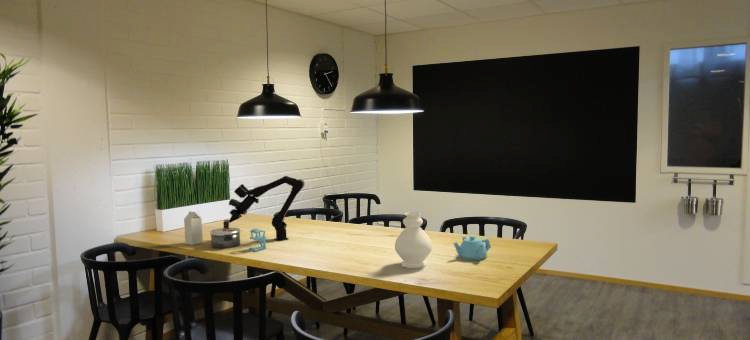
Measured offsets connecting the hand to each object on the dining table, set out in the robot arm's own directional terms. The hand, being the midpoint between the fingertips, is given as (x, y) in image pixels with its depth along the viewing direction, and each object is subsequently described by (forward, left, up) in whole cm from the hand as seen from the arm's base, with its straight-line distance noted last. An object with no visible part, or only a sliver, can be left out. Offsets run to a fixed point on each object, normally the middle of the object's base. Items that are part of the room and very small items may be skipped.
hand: (229, 222), depth 318 cm
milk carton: (+10, +18, -11) cm, 24 cm away
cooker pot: (-8, +7, -11) cm, 16 cm away
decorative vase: (-120, -32, -11) cm, 124 cm away
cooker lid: (-7, +6, -4) cm, 10 cm away
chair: (-34, +1, -12) cm, 36 cm away
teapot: (-133, -61, -12) cm, 147 cm away
